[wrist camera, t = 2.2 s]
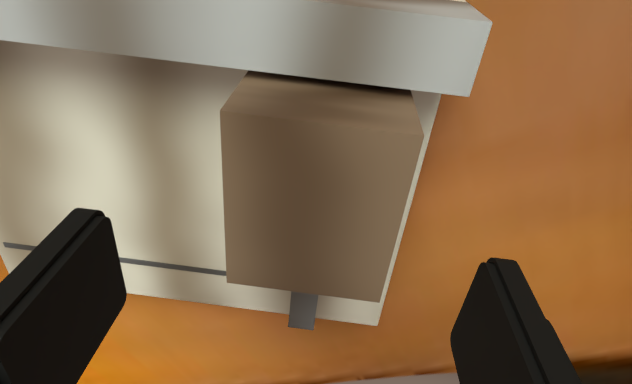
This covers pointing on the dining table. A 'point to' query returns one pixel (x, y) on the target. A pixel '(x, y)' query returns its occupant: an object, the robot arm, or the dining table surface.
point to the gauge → (315, 185)
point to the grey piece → (190, 117)
